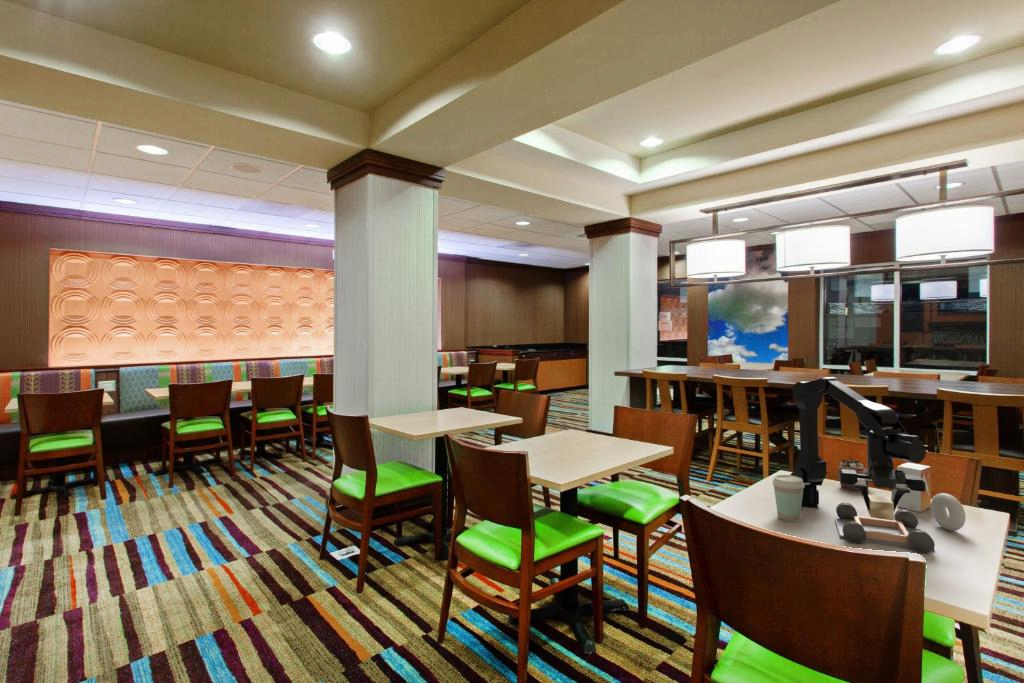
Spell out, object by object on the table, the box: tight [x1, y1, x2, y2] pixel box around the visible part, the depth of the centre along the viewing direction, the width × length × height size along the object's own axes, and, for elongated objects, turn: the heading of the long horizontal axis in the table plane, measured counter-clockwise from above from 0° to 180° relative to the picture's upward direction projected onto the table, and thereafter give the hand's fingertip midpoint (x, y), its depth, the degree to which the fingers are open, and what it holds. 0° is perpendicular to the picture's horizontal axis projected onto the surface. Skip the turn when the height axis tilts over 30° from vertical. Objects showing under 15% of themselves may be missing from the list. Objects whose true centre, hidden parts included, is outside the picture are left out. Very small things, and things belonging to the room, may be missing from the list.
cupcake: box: [837, 458, 870, 493], centre depth 178 cm, size 10×10×10 cm
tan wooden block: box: [867, 494, 895, 521], centre depth 138 cm, size 5×6×4 cm
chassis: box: [834, 502, 936, 554], centre depth 138 cm, size 20×19×5 cm
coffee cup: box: [772, 474, 805, 522], centre depth 152 cm, size 8×8×12 cm
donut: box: [930, 492, 967, 532], centre depth 141 cm, size 10×3×10 cm, turn 176°
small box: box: [896, 462, 932, 513], centre depth 159 cm, size 8×6×13 cm
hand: (880, 511), depth 138 cm, fingers closed on tan wooden block, 5 cm apart
